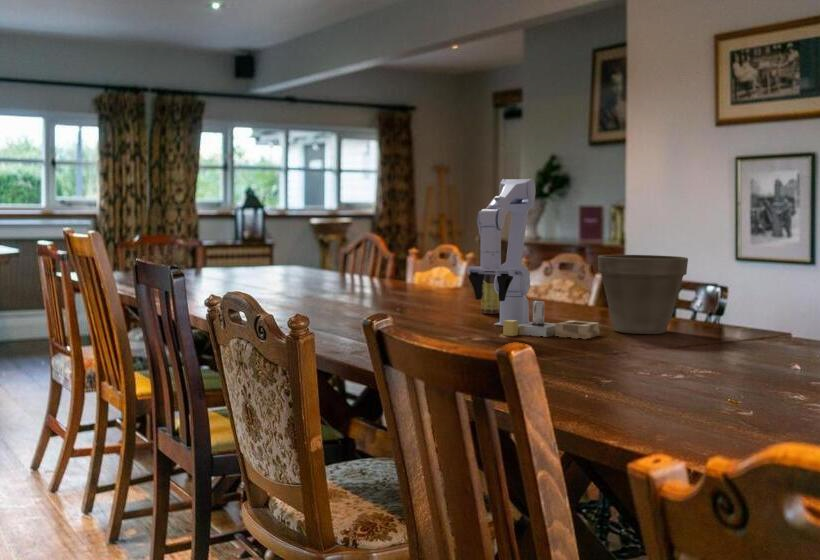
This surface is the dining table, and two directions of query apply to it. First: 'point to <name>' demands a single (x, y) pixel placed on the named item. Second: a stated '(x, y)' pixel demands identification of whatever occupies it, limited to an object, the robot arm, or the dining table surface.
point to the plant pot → (641, 290)
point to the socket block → (536, 329)
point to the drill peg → (538, 313)
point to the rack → (577, 329)
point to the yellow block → (510, 327)
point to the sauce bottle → (489, 295)
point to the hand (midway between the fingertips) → (490, 300)
